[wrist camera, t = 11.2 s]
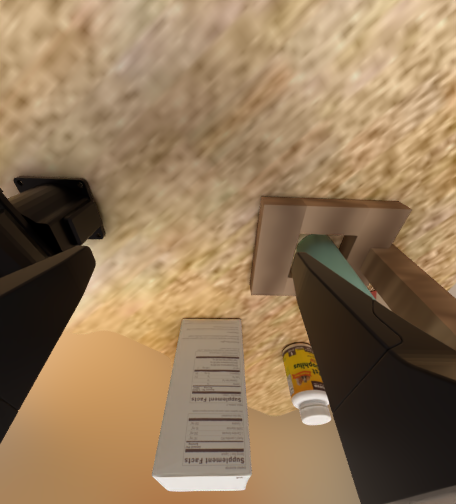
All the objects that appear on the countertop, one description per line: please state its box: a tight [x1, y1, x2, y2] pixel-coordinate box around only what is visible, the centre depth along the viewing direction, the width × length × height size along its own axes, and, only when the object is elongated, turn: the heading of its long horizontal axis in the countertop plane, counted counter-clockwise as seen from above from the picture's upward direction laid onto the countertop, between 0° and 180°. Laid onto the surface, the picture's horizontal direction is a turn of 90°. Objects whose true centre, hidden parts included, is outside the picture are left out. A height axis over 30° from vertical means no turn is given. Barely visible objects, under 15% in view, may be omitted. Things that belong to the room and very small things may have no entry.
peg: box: [297, 234, 376, 300], centre depth 19 cm, size 4×4×15 cm
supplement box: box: [152, 319, 252, 491], centre depth 28 cm, size 10×9×17 cm
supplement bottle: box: [282, 343, 331, 425], centre depth 34 cm, size 6×6×10 cm
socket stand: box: [250, 197, 456, 350], centre depth 15 cm, size 15×12×23 cm
